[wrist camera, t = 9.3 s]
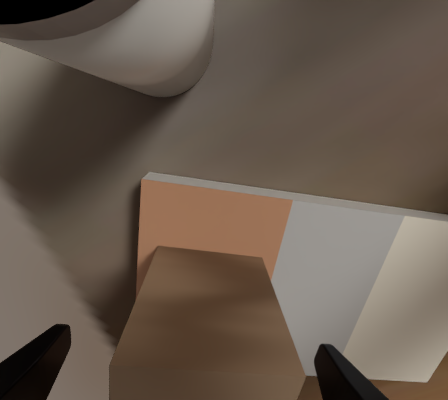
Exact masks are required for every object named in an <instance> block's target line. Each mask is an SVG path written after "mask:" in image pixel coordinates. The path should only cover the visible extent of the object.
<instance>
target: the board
mask: <svg viewBox="0 0 448 400" xmlns="http://www.w3.org/2000/svg"><path fill="white" fill-rule="evenodd" d="M158 246H167V247H176V248H184V249H193V250H202V251H210V252H219V253H228V254H237V255H245V256H254V257H262V259H263V261H264V264H265V267H266V269H267V272H268V275H269V277H270V280H271V283H272V286H273V288H274V291H275V294H276V296H277V299H278V302H279V305H280V307H281V310H282V313H283V315H284V318H285V321H286V323H287V326H288V329H289V332H290V334H291V337H292V340H293V342H294V345H295V348H296V351H297V353H298V356H299V359H300V361H301V364H302V367H303V369H304V372H305V375H306V376H317V374H316V370H315V366H314V358H315V355H316V352H317V350H318V347H319V345H320V344H322V343H324V344H331V345H333V346H334V347H335V348H336V349H337V350H338V351H339V352H340V353H341V354H342V355H343V356H344V357H345V358H347V359H348V360H349V361H350V362H351V363H352V364H353V365H354V366H355V367H356V368H357V369H358V370H359V371H360V372H361V373H362V374H363V375H364V376H365V377H366V378H367V379H376V380H394V381H411V382H428V380H429V379H430V377H431V375H432V374H433V372H434V371H435V369H436V368H437V366H438V365H439V363H440V362H441V360H442V359H443V357H444V355H445V354H446V352H447V351H448V215H447V214H440V213H433V212H426V211H419V210H412V209H405V208H398V207H391V206H384V205H377V204H370V203H363V202H356V201H349V200H342V199H335V198H328V197H321V196H314V195H307V194H300V193H293V192H286V191H279V190H272V189H265V188H258V187H251V186H244V185H238V184H231V183H224V182H217V181H210V180H203V179H196V178H189V177H182V176H175V175H168V174H161V173H154V172H149V173H148V174H147V175H146V176H144V177H143V178H142V179H141V198H140V219H139V240H138V261H137V282H136V299H137V297H138V294H139V292H140V289H141V287H142V284H143V282H144V279H145V277H146V274H147V272H148V270H149V267H150V265H151V262H152V260H153V257H154V255H155V252H156V250H157V248H158Z"/></svg>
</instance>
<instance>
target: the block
mask: <svg viewBox="0 0 448 400" xmlns="http://www.w3.org/2000/svg"><path fill="white" fill-rule="evenodd" d="M305 379H306V375H305V372H304V369H303V367H302V364H301V361H300V359H299V356H298V353H297V351H296V348H295V345H294V342H293V340H292V337H291V334H290V332H289V329H288V326H287V323H286V321H285V318H284V315H283V313H282V310H281V307H280V305H279V302H278V299H277V296H276V294H275V291H274V288H273V286H272V283H271V280H270V277H269V275H268V272H267V269H266V267H265V264H264V261H263V259H262V257H254V256H245V255H237V254H228V253H219V252H210V251H202V250H193V249H184V248H176V247H167V246H158V248H157V250H156V252H155V255H154V257H153V260H152V262H151V265H150V267H149V270H148V272H147V274H146V277H145V279H144V282H143V284H142V287H141V289H140V292H139V294H138V297H137V299H136V301H135V304H134V306H133V309H132V311H131V314H130V316H129V319H128V321H127V323H126V326H125V328H124V331H123V333H122V336H121V338H120V341H119V343H118V345H117V348H116V350H115V353H114V355H113V358H112V360H111V363H110V367H109V400H297V398H298V396H299V393H300V391H301V388H302V386H303V384H304V381H305Z"/></svg>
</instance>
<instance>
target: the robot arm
mask: <svg viewBox="0 0 448 400" xmlns="http://www.w3.org/2000/svg"><path fill="white" fill-rule="evenodd" d="M70 346H71V332H70V326H69V325H66V324H56V325H54V326H52V327H51V328H49V329H48V330H46V331H45V332H44V333H42V334H41V335H39V336H38V337H37V338H35V339H34V340H32V341H31V342H30V343H28V344H27V345H25V346H24V347H22V348H21V349H19V350H18V351H17V352H15V353H14V354H12V355H11V356H9V357H8V358H7V359H5V360H4V361H2V362H1V363H0V400H46V399H47V397H48V395H49V393H50V391H51V388H52V386H53V384H54V382H55V380H56V378H57V375H58V373H59V371H60V369H61V367H62V364H63V362H64V360H65V358H66V356H67V354H68V352H69V349H70ZM314 366H315V370H316V374H317V378H318V382H319V386H320V390H321V394H322V398H323V400H389V399H388V398H387V397H386V396H385V395H384V394H383V393H382V392H381V391H379V390H378V389H377V388H376V387H375V386H374V385H373V384H372V383H371V382H370V381H369V380H368V379H367V378H366V377H365V376H364V375H363V374H362V373H361V372H360V371H359V370H358V369H357V368H356V367H355V366H354V365H353V364H352V363H351V362H350V361H349V360H348V359H347V358H345V357H344V356H343V355H342V354H341V353H340V352H339V351H338V350H337V349H336V348H335V347H334V346H333V345H331V344H324V343H322V344H320V345H319V347H318V350H317V352H316V355H315V358H314Z"/></svg>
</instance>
